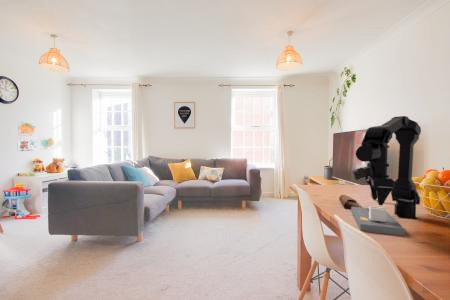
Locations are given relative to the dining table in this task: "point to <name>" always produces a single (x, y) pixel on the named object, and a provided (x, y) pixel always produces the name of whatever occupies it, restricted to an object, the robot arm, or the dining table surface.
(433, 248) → the dining table surface
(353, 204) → the sunglasses case
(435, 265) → the dining table surface
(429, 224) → the dining table surface
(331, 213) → the dining table surface
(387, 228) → the fader console
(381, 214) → the fader knob
